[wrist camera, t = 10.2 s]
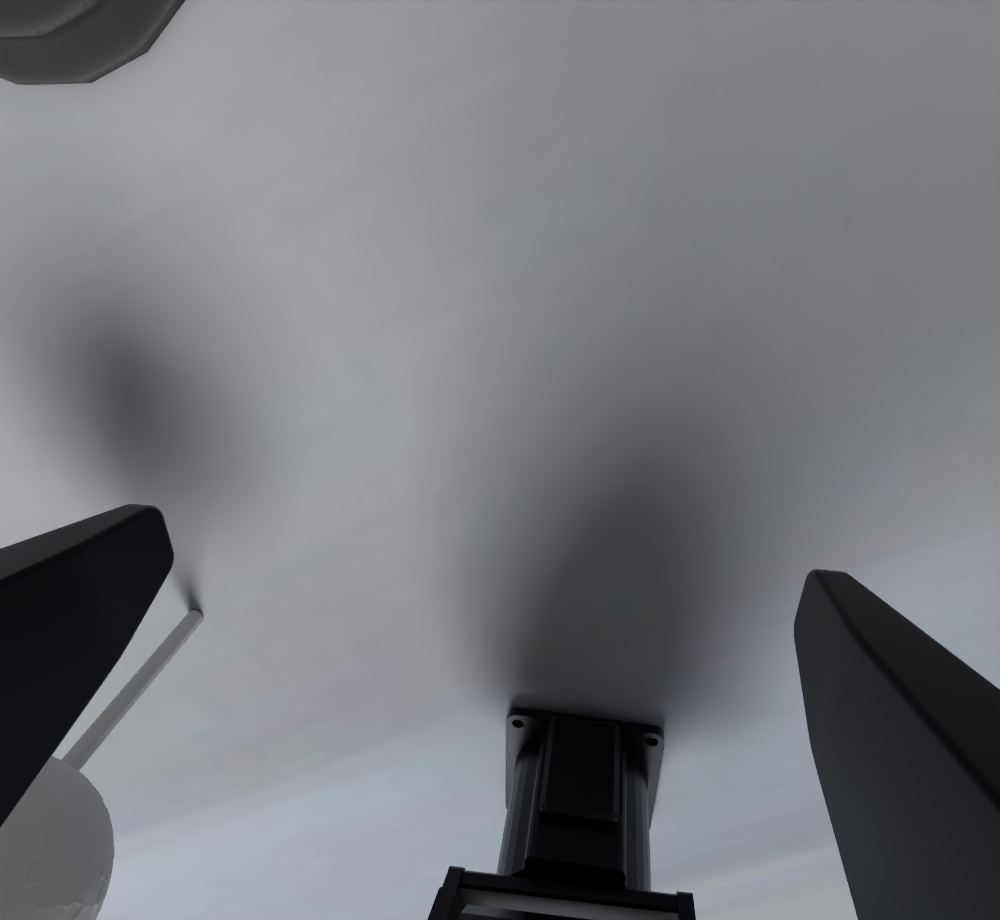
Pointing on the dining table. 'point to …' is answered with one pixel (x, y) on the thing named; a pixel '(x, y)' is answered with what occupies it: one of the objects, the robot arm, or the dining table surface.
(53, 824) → the lollipop
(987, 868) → the robot arm
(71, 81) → the figurine
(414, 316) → the dining table surface
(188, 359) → the dining table surface
